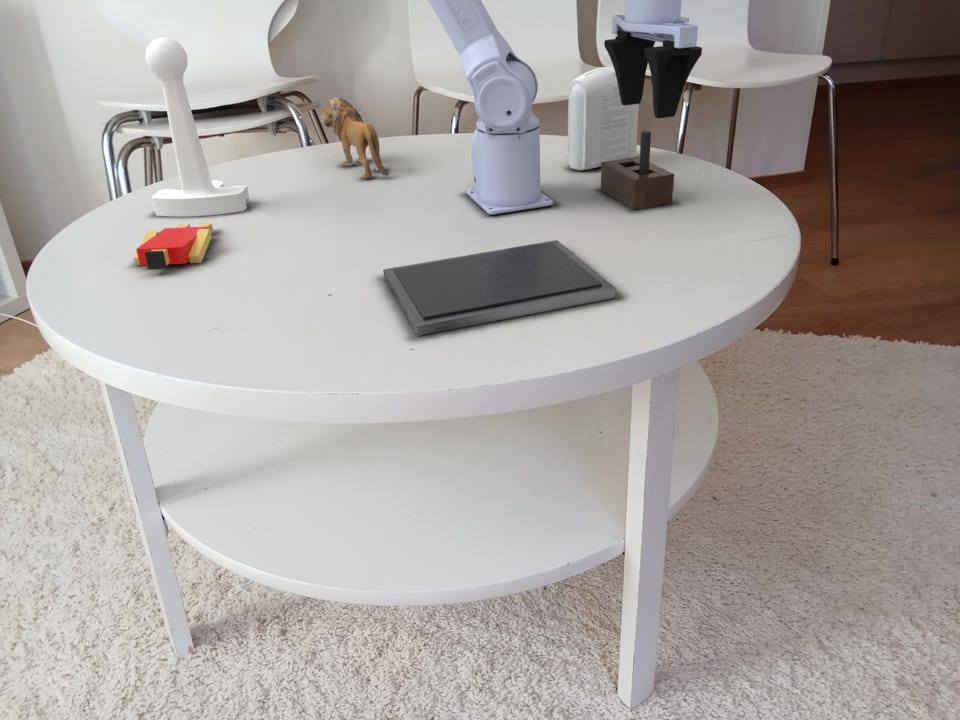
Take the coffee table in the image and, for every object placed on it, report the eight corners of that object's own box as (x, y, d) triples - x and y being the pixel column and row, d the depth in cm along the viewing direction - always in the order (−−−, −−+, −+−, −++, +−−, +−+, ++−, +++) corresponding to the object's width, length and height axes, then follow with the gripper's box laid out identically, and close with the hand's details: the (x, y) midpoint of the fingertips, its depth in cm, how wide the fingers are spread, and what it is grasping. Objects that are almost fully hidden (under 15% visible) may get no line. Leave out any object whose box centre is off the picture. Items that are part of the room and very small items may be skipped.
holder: (633, 210, 88) (634, 179, 86) (600, 190, 95) (601, 161, 93) (672, 203, 89) (674, 173, 88) (636, 184, 96) (638, 156, 95)
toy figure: (165, 218, 88) (118, 251, 77) (224, 215, 88) (186, 248, 77) (170, 239, 89) (124, 274, 78) (228, 237, 89) (191, 272, 78)
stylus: (635, 200, 91) (639, 131, 87) (644, 198, 91) (648, 130, 87) (640, 202, 90) (644, 133, 86) (648, 201, 90) (652, 132, 87)
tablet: (384, 278, 74) (382, 267, 74) (557, 249, 79) (557, 237, 78) (417, 336, 64) (415, 323, 63) (615, 298, 68) (616, 285, 67)
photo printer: (619, 153, 109) (623, 60, 103) (641, 159, 106) (646, 63, 100) (562, 167, 105) (562, 71, 99) (583, 173, 102) (584, 75, 95)
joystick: (151, 218, 94) (104, 42, 85) (172, 199, 101) (131, 34, 91) (242, 213, 94) (204, 37, 84) (257, 194, 101) (224, 29, 91)
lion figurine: (322, 162, 113) (312, 99, 109) (354, 155, 116) (346, 93, 111) (372, 183, 103) (364, 113, 98) (406, 174, 105) (399, 106, 101)
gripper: (730, -27, 74) (715, 118, 81) (654, -32, 86) (647, 95, 93) (664, -22, 72) (655, 126, 79) (596, -27, 84) (593, 101, 91)
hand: (647, 110), depth 86 cm, fingers open, 7 cm apart
